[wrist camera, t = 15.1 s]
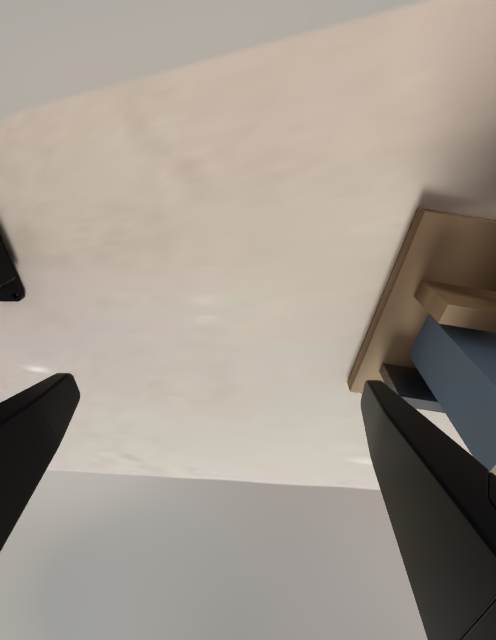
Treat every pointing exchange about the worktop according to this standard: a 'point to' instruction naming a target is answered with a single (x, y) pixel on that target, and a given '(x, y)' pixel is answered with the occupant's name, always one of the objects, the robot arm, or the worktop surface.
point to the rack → (429, 299)
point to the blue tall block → (462, 381)
